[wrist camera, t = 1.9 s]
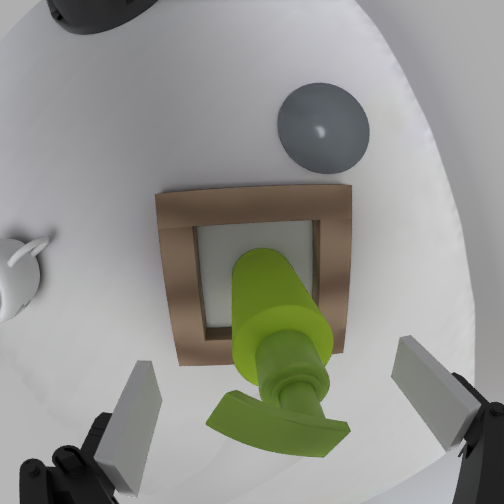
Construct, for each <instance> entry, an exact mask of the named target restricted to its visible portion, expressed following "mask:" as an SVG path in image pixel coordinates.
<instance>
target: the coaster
mask: <svg viewBox="0 0 504 504" xmlns="http://www.w3.org/2000/svg"><path fill="white" fill-rule="evenodd" d="M278 131H279V136H280V139H281V142H282V144H283V146H284V148H285V150H286V151H287V153H288V154H289V155H290V157H291V158H292V159H293V160H294V161H295V162H297V163H298V164H299V165H301V166H302V167H304V168H306V169H308V170H310V171H313V172H316V173H322V174H334V173H340V172H343V171H346V170H348V169H350V168H351V167H353V166H354V165H355V164H356V163H357V162H359V160H360V159H361V158H362V157H363V155H364V153H365V151H366V149H367V146H368V142H369V124H368V120H367V117H366V114H365V112H364V110H363V108H362V107H361V105H360V104H359V102H358V101H357V100H356V99H355V98H354V97H353V96H352V95H351V94H349V93H348V92H347V91H345V90H343V89H342V88H340V87H337V86H335V85H331V84H326V83H312V84H308V85H305V86H302V87H300V88H298V89H297V90H295V91H294V92H293V93H292V94H291V95H290V96H289V97H288V98H287V99H286V101H285V102H284V104H283V106H282V108H281V110H280V113H279V118H278Z"/></svg>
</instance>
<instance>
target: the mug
mask: <svg viewBox="0 0 504 504" xmlns="http://www.w3.org/2000/svg"><path fill="white" fill-rule="evenodd" d="M48 243H49V238H48V237H47V236H43V237H39V238H37V239H35V240H33V241H31V242H29V243H27V244H24V243H23V242H21V241H18V240H14V239H0V323H2V322H5V321H8V320H10V319H12V318H13V317H15V316H16V315H18V314H19V313H20V312H21V311H23V310H24V309H25V308H26V307H27V305H28V304H29V303H30V302H31V300H32V299H33V297H34V295H35V293H36V291H37V289H38V286H39V282H40V270H39V265H38V261H37V259H36V257H35V256H36V255H37V254H38V253H39V252H40V251H42V250H43V249H44V248H45V247H46V246H47V244H48ZM35 247H36V248H35ZM33 248H34V249H33ZM32 249H33V250H32ZM31 250H32V251H31Z"/></svg>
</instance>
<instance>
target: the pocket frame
mask: <svg viewBox="0 0 504 504" xmlns="http://www.w3.org/2000/svg"><path fill="white" fill-rule="evenodd" d="M155 200H156V212H157V223H158V233H159V242H160V251H161V259H162V267H163V274H164V281H165V288H166V295H167V301H168V307H169V313H170V319H171V325H172V330H173V336H174V341H175V346H176V351H177V356H178V361H179V366H206V365H231V364H234V361H233V357H232V327H227V328H207V327H206V319H205V311H204V302H203V294H202V284H201V275H200V265H199V254H198V243H197V232H196V226H207V225H223V224H239V223H257V222H276V221H298V220H313V292H312V299H313V300H314V302H315V304H316V305H317V307H318V308H319V310H320V311H321V313H322V314H323V316H324V318H325V319H326V321H327V322H328V324H329V326H330V328H331V330H332V333H333V340H334V344H333V351H332V354H338V353H343V349H344V341H345V332H346V322H347V311H348V299H349V284H350V267H351V241H352V185H345V184H307V185H270V186H247V187H229V188H214V189H200V190H187V191H176V192H165V193H159V194H155Z"/></svg>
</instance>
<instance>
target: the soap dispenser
mask: <svg viewBox="0 0 504 504" xmlns="http://www.w3.org/2000/svg"><path fill="white" fill-rule="evenodd" d="M333 344H334V340H333V333H332V330H331V328H330V326H329V324H328V322H327V321H326V319H325V318H324V316H323V314H322V313H321V311H320V310H319V308H318V307H317V305H316V304H315V302H314V300H313V299H312V297H311V296H310V294H309V293H308V291H307V290H306V288H305V287H304V285H303V283H302V282H301V280H300V279H299V277H298V276H297V274H296V273H295V271H294V270H293V268H292V267H291V265H290V264H289V262H288V261H287V259H286V258H285V257H284V256H283V255H282V254H280V253H279V252H277V251H275V250H272V249H267V248H259V249H254V250H251V251H249V252H247V253H245V254H244V255H243V256H242V257H241V258H240V259H239V260H238V261H237V263H236V264H235V266H234V269H233V273H232V357H233V361H234V364H235V366H236V368H237V370H238V372H239V373H240V374H241V375H242V376H243V377H244V378H245V379H246V380H247V381H249V382H250V383H252V384H254V385H256V386H259V392H260V397H261V400H262V401H259V400H257V399H255V398H253V397H251V396H248V395H246V394H244V393H242V392H240V391H238V390H235V391H231V392H228V393H226V394H225V395H224V397H223V398H222V399H221V401H220V402H219V404H218V405H217V407H216V408H215V410H214V411H213V412H212V414H211V415H210V417H209V418H208V420H207V421H206V425H207V426H209V427H211V428H212V429H214V430H216V431H218V432H220V433H222V434H224V435H226V436H228V437H230V438H232V439H234V440H237V441H239V442H241V443H244V444H247V445H250V446H253V447H256V448H259V449H263V450H266V451H271V452H276V453H281V454H288V455H296V456H307V457H325V456H326V455H327V454H328V453H329V452H330V451H331V450H332V449H333V448H334V447H335V446H336V445H337V444H338V443H339V442H341V441H342V440H343V439H344V438H345V437H346V436H347V435H348V434H349V432H350V431H351V430H350V428H349V426H348V424H347V422H343V421H337V420H331V419H326V418H325V415H324V413H323V410H322V407H321V405H320V402H321V401H322V400H323V399H324V397H325V396H326V394H327V392H328V390H329V386H330V380H329V376H328V373H327V371H326V369H325V366H326V364H327V363H328V361H329V359H330V357H331V354H332V351H333Z"/></svg>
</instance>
